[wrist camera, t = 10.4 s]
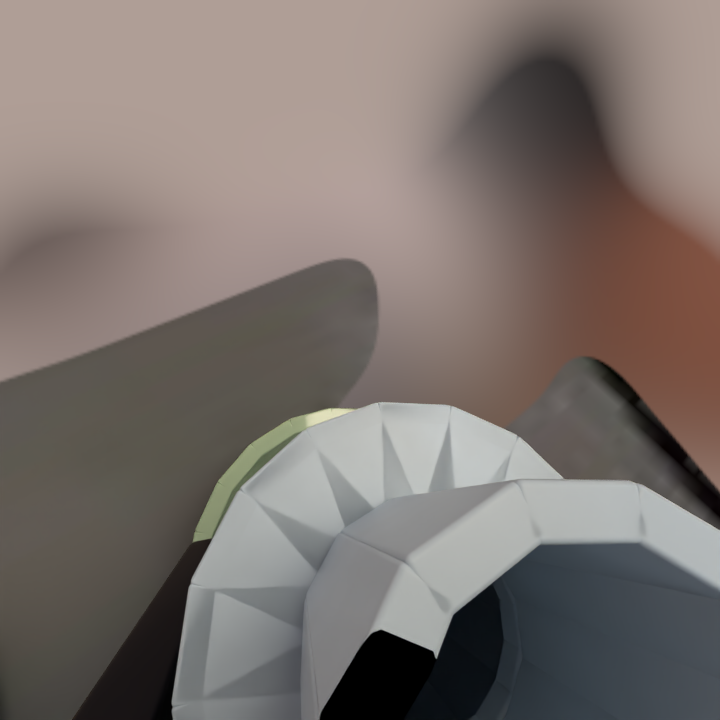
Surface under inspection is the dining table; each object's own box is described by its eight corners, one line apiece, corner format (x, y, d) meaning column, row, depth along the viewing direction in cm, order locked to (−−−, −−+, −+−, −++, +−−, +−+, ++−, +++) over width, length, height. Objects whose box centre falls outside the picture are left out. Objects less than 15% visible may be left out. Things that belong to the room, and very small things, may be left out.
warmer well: (455, 679, 15) (515, 743, 11) (197, 697, 14) (155, 779, 10) (437, 433, 19) (476, 413, 15) (232, 427, 17) (213, 402, 13)
